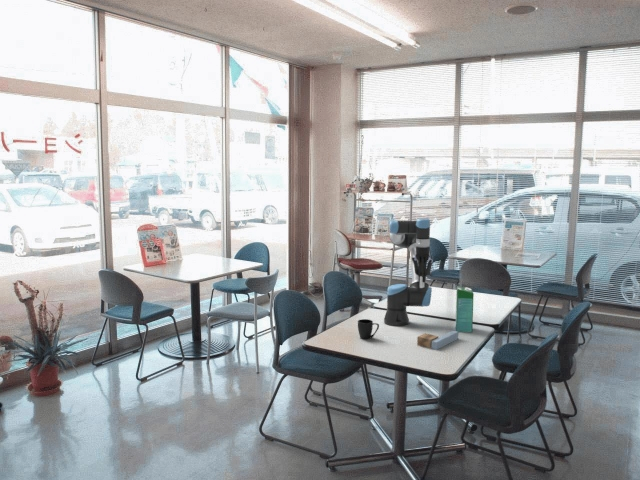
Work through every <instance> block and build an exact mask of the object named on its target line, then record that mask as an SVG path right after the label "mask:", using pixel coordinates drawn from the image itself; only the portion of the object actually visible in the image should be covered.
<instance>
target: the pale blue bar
mask: <svg viewBox="0 0 640 480" xmlns="http://www.w3.org/2000/svg"><path fill="white" fill-rule="evenodd" d="M458 339H459V331H456V330H451V331H450V332H447V333H446V334H443V335H442V336H438V338H437V339H435V340H433V341H432V343H431V349H432V350H435V351H437V350H439V349H441V348H443V347H445V346H447V345H449V344H450V343H451V344H452V342H455V341H456V340H458Z"/></svg>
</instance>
